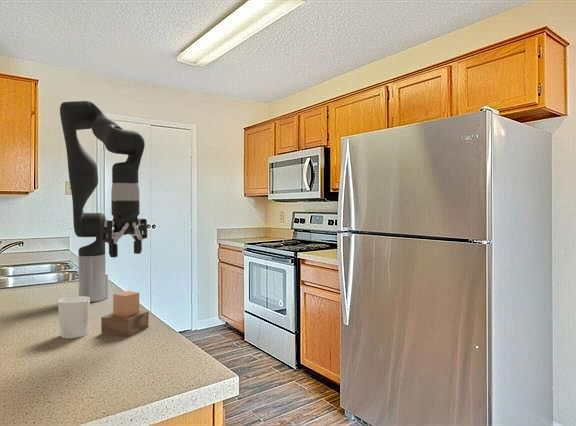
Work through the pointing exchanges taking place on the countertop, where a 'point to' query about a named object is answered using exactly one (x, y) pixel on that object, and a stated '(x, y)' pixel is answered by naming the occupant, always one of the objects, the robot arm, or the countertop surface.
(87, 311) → the white cup
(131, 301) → the terracotta block
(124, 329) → the walnut block
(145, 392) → the countertop surface
